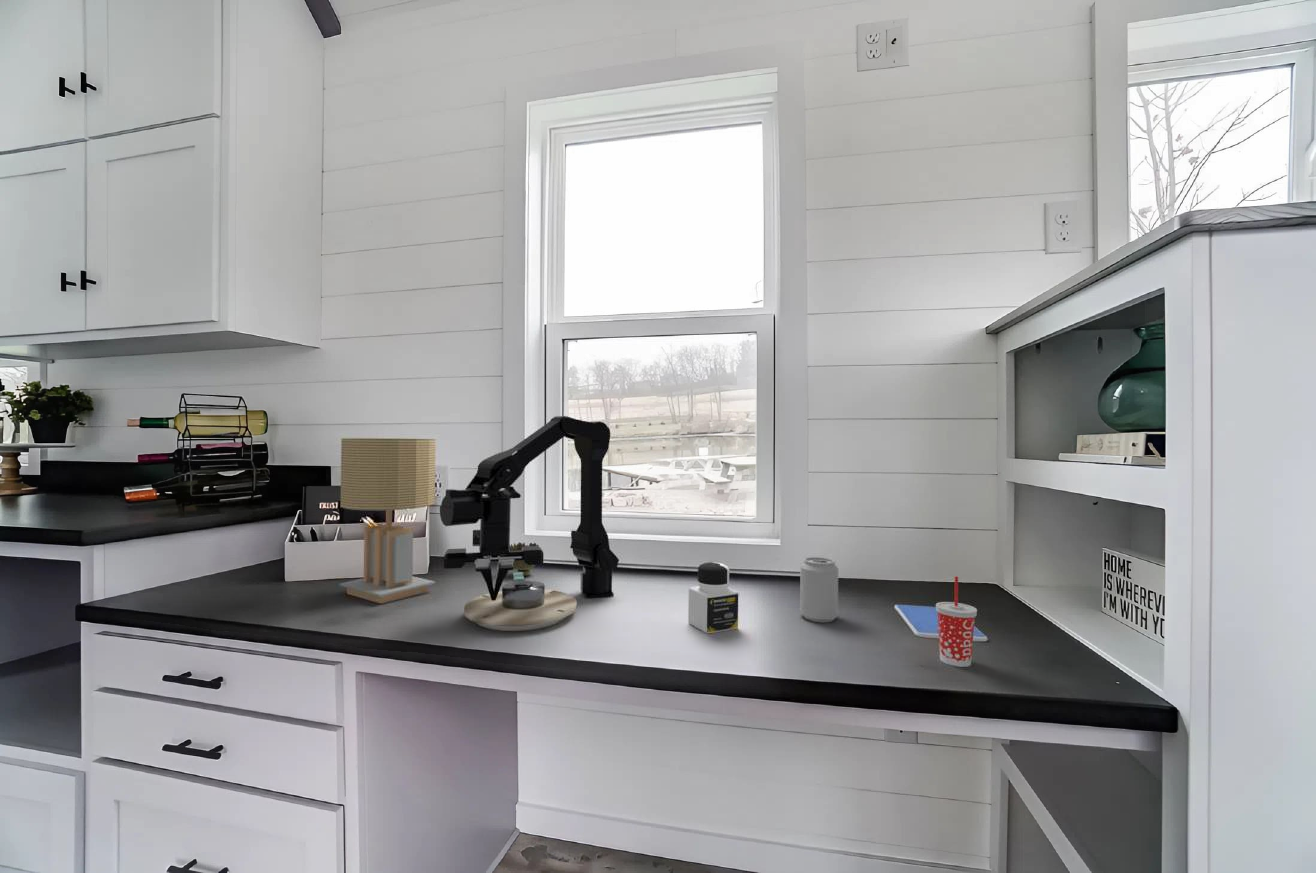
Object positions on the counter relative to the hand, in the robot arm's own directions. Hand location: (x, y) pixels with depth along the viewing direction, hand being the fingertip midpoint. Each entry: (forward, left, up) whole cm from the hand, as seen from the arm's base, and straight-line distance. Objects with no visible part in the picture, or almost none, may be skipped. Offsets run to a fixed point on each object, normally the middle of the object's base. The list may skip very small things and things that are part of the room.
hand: (493, 600), depth 113 cm
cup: (-8, -34, -4) cm, 35 cm away
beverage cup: (-72, +43, -4) cm, 84 cm away
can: (-63, +17, -4) cm, 66 cm away
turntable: (-5, 0, -2) cm, 6 cm away
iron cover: (-6, 0, -1) cm, 6 cm away
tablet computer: (-85, +26, -4) cm, 89 cm away
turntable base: (-5, 0, -4) cm, 7 cm away
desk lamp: (+23, -25, -4) cm, 34 cm away
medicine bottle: (-40, +16, -4) cm, 44 cm away
